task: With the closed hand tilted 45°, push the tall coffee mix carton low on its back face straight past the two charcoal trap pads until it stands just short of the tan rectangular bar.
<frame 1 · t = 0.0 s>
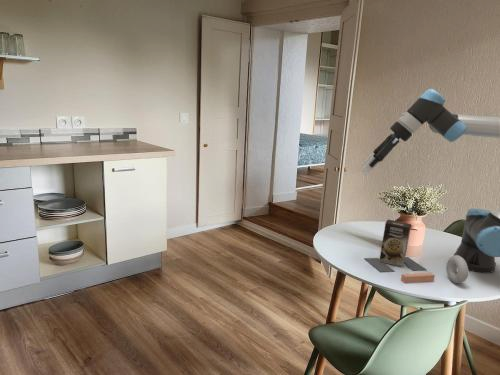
hand: (363, 169, 150), 36 cm above the table, tool tilted 35°, fingers open, 13 cm apart
trap pads: (399, 267, 151), on the table
tan rectangular bar: (417, 281, 140), on the table
coffee box: (391, 262, 155), on the table, touching trap pads
donut: (454, 282, 142), on the table
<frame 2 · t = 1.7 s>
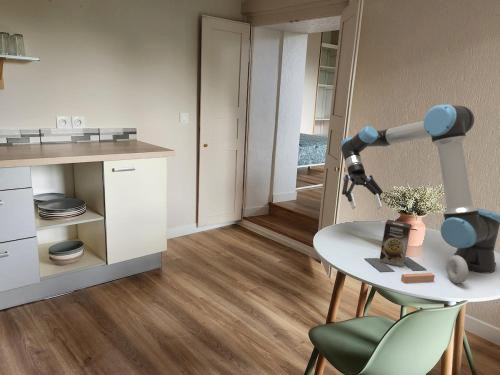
hand: (367, 207, 174), 16 cm above the table, tool tilted 45°, fingers open, 12 cm apart
nothing on the table moved.
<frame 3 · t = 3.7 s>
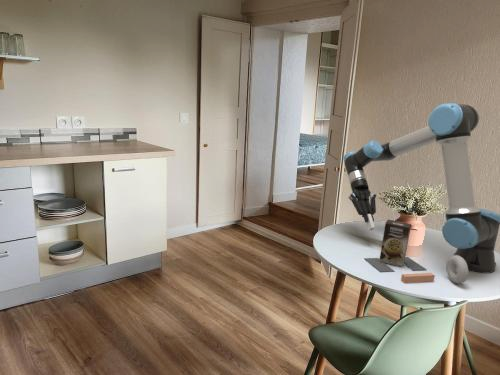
hand: (371, 228, 169), 8 cm above the table, tool tilted 45°, fingers closed
nothing on the table moved.
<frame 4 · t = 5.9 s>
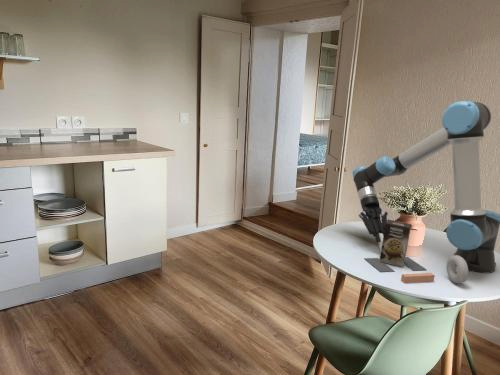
hand: (383, 249, 160), 3 cm above the table, tool tilted 45°, fingers closed
coffee box: (391, 262, 155), on the table, touching gripper
everything else where it was.
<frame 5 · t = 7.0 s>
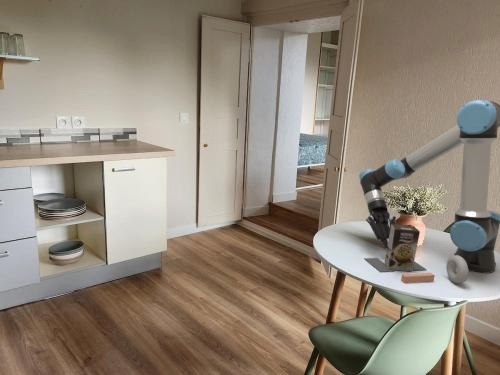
hand: (392, 255, 154), 3 cm above the table, tool tilted 45°, fingers closed
coffee box: (398, 267, 151), on the table, touching gripper, trap pads
everything else where it was.
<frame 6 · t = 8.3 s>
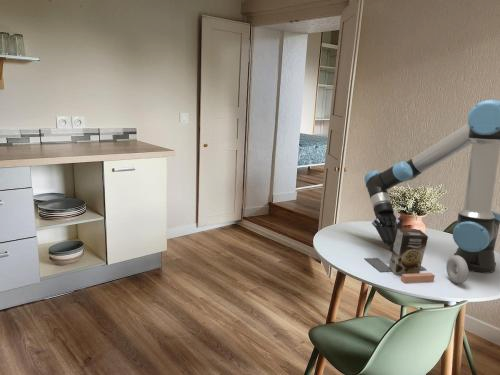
hand: (399, 259, 151), 3 cm above the table, tool tilted 45°, fingers closed
coffee box: (403, 271, 147), on the table, touching gripper, trap pads
everything else where it was.
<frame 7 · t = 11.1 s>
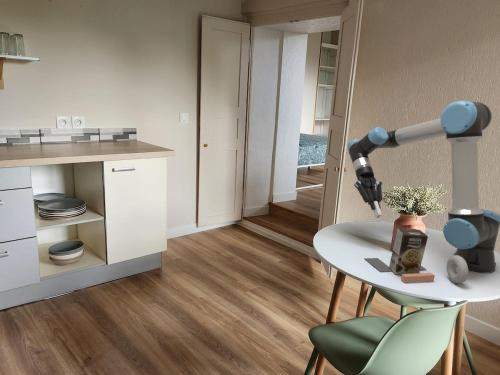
hand: (378, 216, 165), 15 cm above the table, tool tilted 45°, fingers closed
coffee box: (403, 271, 147), on the table, touching trap pads
everything else where it was.
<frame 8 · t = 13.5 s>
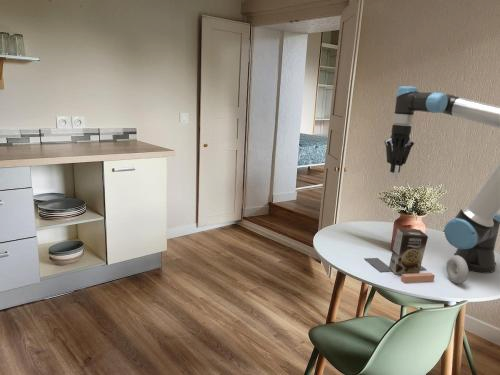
hand: (393, 179, 168), 29 cm above the table, tool pointing down, fingers closed
nothing on the table moved.
at the end: coffee box inside the target area (1.1 cm from its centre), on the table; coffee box tilted 4° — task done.
